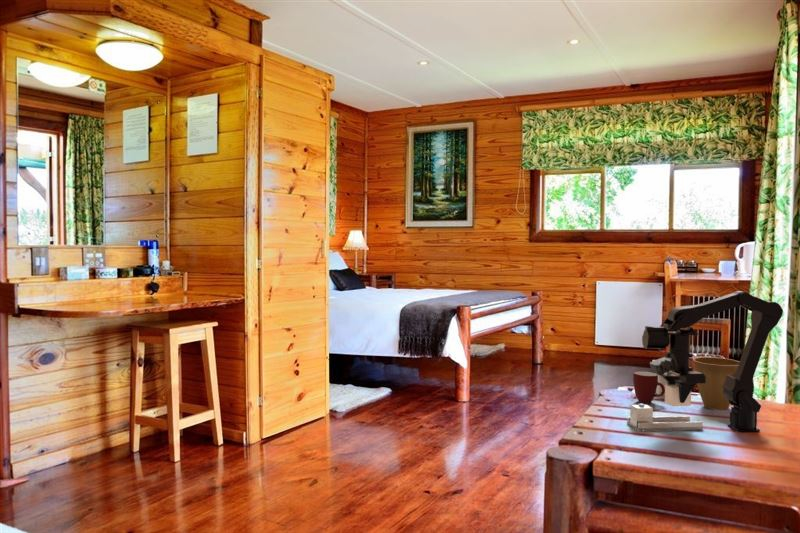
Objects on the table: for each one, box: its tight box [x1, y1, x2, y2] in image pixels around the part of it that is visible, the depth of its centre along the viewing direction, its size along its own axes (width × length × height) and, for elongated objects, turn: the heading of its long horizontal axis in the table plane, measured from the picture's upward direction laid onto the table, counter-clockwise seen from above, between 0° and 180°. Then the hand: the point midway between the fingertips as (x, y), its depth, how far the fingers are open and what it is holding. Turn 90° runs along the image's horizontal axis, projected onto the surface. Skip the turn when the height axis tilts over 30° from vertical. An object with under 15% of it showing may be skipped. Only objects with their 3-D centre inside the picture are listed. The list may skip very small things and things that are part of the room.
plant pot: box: [692, 356, 740, 411], centre depth 215 cm, size 15×15×16 cm
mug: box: [632, 370, 665, 404], centre depth 221 cm, size 10×8×10 cm
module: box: [664, 383, 692, 407], centre depth 191 cm, size 6×4×6 cm, turn 98°
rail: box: [626, 403, 704, 432], centre depth 191 cm, size 20×8×7 cm, turn 98°
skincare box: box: [651, 359, 668, 396], centre depth 235 cm, size 6×4×12 cm
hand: (677, 400), depth 191 cm, fingers closed on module, 4 cm apart
